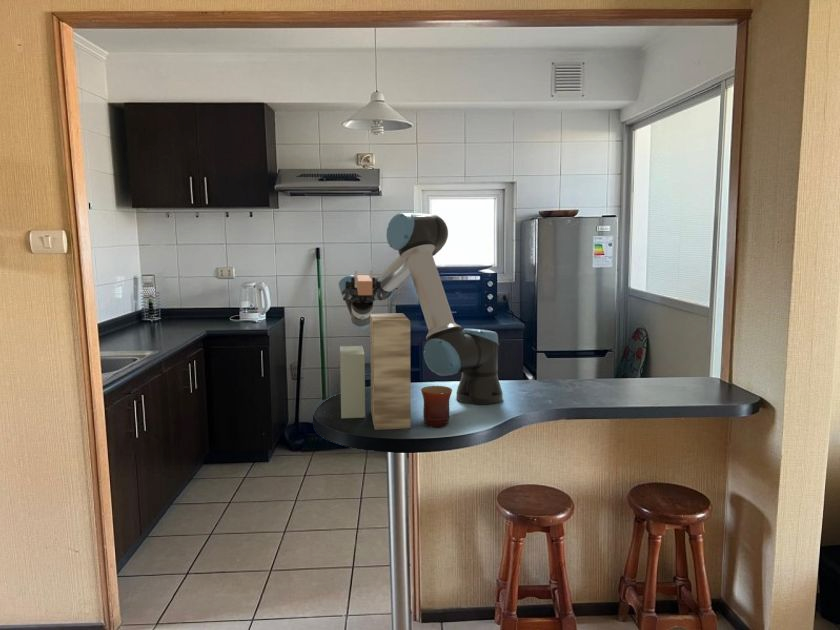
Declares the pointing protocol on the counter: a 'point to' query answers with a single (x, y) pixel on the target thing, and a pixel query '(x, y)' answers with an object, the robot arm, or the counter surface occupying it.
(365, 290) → the batten
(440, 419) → the mug
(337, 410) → the counter surface
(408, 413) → the stand
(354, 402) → the post low
